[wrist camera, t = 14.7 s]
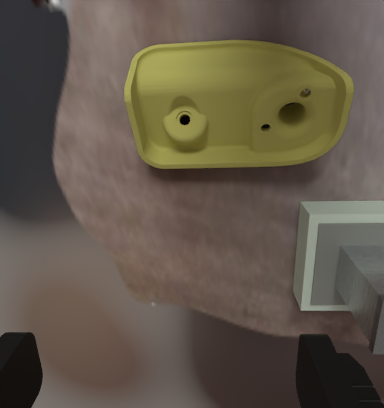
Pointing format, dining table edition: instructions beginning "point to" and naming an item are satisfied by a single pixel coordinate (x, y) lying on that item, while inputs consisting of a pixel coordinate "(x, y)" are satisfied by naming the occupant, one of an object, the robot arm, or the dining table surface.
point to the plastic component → (234, 104)
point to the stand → (330, 247)
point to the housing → (364, 289)
